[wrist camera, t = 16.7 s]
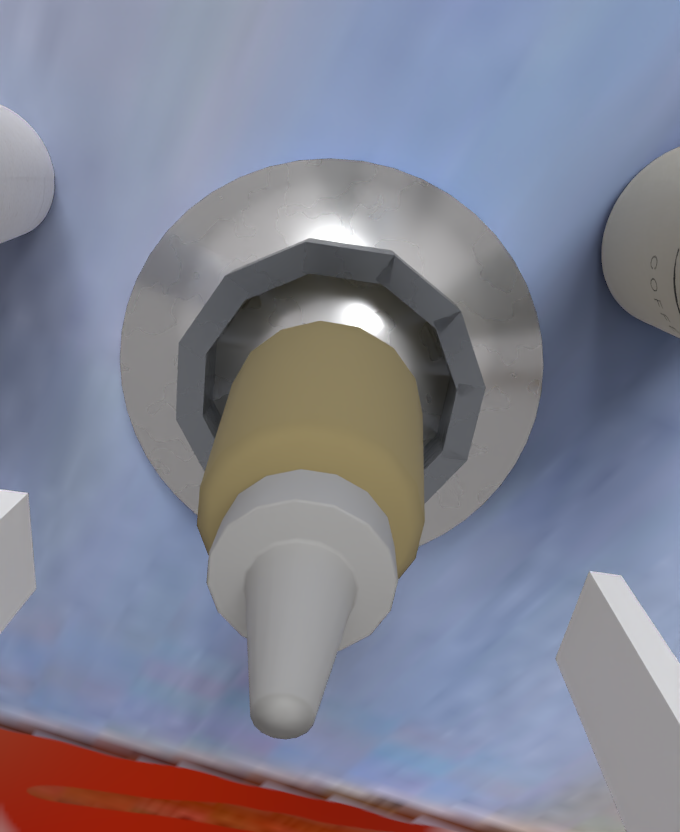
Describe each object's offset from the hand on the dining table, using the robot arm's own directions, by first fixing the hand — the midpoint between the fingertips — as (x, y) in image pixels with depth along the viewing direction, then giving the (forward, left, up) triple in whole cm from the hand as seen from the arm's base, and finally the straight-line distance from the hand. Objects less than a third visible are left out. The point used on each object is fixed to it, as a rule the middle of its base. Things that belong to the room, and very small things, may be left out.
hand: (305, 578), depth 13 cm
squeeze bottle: (0, 0, -15) cm, 15 cm away
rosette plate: (0, 0, -16) cm, 16 cm away
